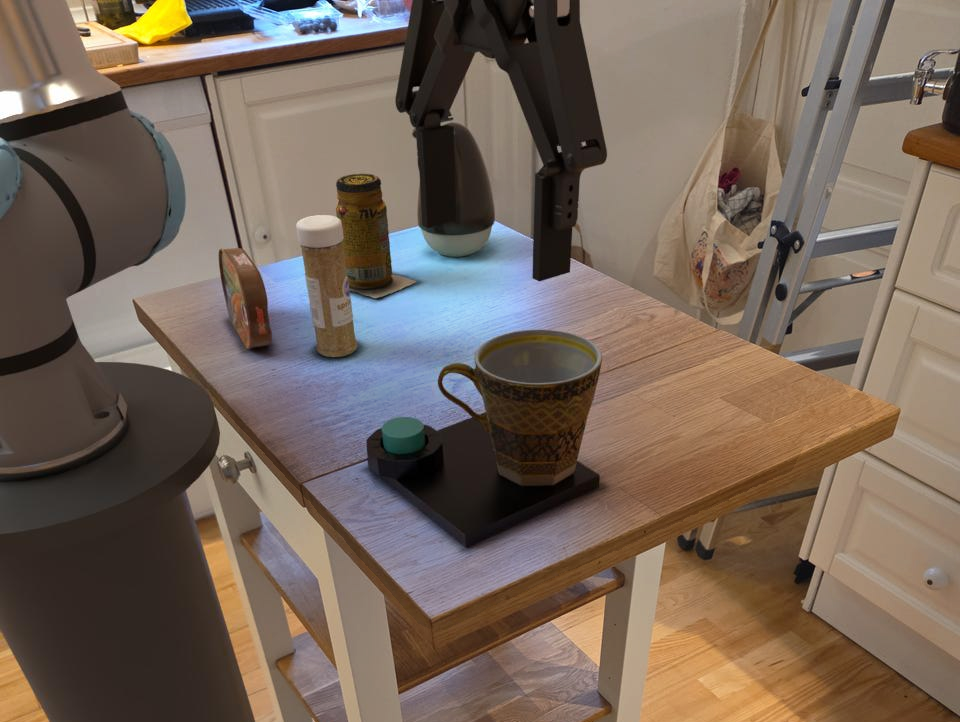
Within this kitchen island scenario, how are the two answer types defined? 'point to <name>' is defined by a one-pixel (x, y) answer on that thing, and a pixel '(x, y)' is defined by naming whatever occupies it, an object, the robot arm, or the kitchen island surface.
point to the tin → (245, 297)
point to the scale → (468, 482)
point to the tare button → (403, 435)
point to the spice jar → (327, 284)
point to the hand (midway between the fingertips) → (491, 248)
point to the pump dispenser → (464, 201)
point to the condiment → (366, 236)
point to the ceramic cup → (533, 400)
